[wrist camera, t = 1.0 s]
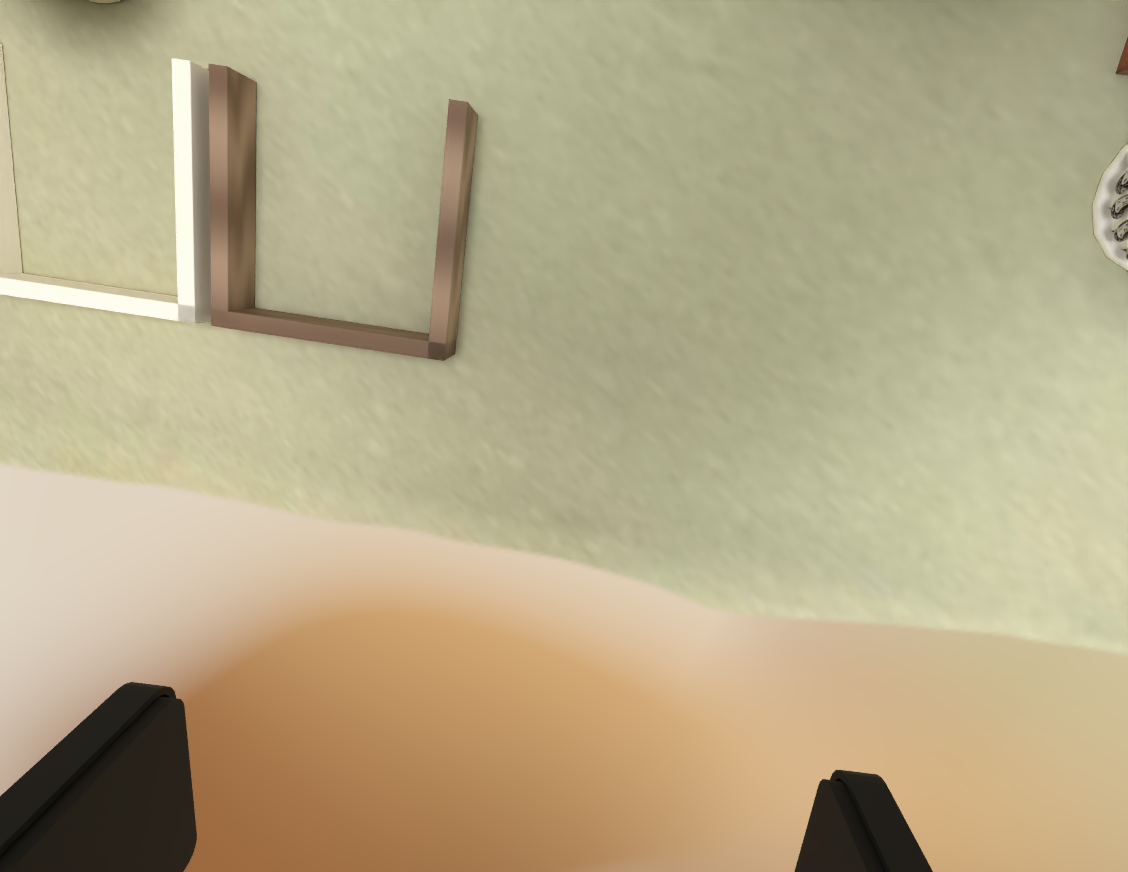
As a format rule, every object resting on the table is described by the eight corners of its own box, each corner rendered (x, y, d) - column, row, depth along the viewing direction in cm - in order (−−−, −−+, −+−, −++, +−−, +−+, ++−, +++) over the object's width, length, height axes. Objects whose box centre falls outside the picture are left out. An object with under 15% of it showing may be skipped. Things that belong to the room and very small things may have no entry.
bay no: (239, 79, 36) (208, 63, 33) (477, 115, 36) (467, 101, 33) (239, 321, 40) (211, 325, 37) (454, 353, 40) (444, 360, 37)
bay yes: (-15, 41, 36) (-68, 22, 33) (222, 77, 36) (190, 60, 33) (8, 286, 40) (-37, 288, 37) (223, 319, 40) (195, 323, 37)
